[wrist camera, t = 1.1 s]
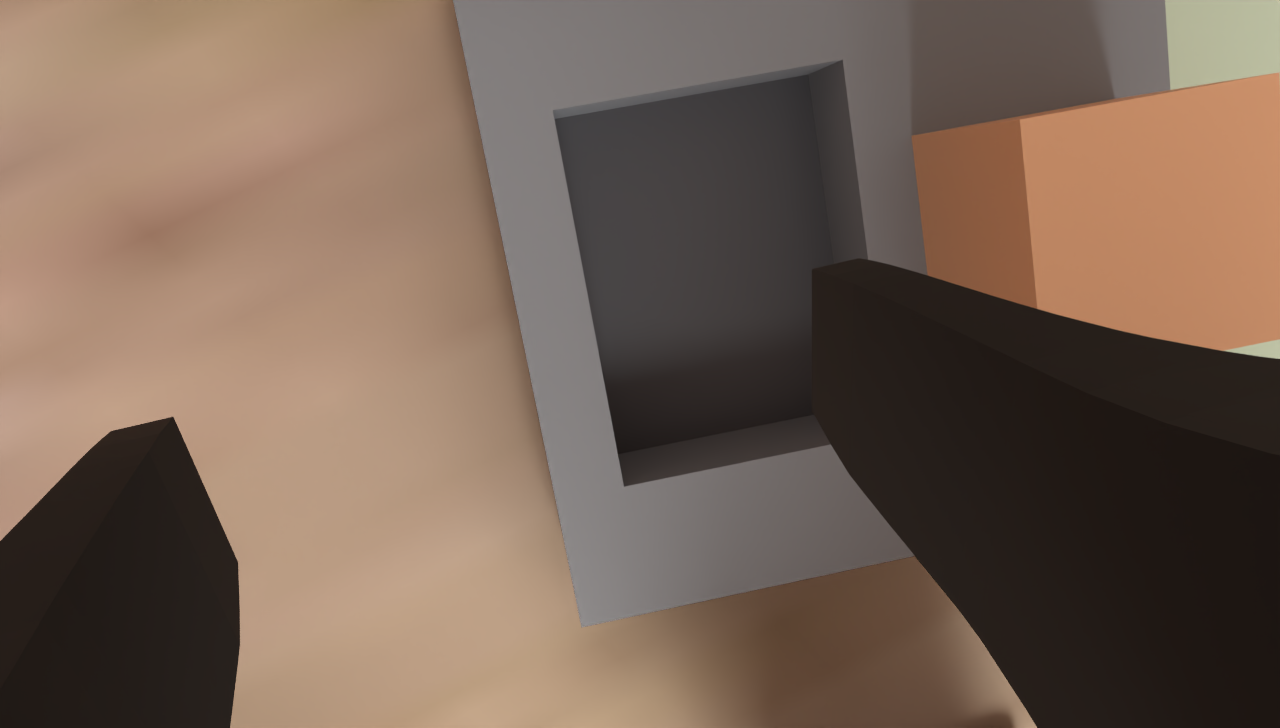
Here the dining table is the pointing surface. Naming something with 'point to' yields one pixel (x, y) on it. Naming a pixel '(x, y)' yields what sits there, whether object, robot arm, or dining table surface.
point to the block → (1119, 211)
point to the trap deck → (751, 238)
